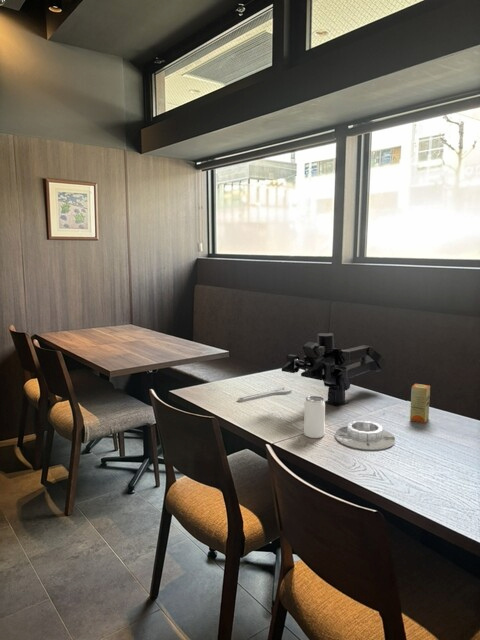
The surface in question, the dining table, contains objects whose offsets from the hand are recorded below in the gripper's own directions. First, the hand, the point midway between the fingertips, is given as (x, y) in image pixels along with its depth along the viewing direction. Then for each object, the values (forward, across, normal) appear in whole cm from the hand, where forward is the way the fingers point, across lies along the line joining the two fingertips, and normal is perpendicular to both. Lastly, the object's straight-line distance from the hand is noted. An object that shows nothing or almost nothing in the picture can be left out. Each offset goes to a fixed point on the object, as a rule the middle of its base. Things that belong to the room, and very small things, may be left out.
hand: (291, 372), depth 163 cm
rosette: (-4, +27, +17) cm, 32 cm away
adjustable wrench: (-10, -26, +18) cm, 33 cm away
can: (+6, +15, +17) cm, 23 cm away
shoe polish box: (-32, +30, +18) cm, 47 cm away
